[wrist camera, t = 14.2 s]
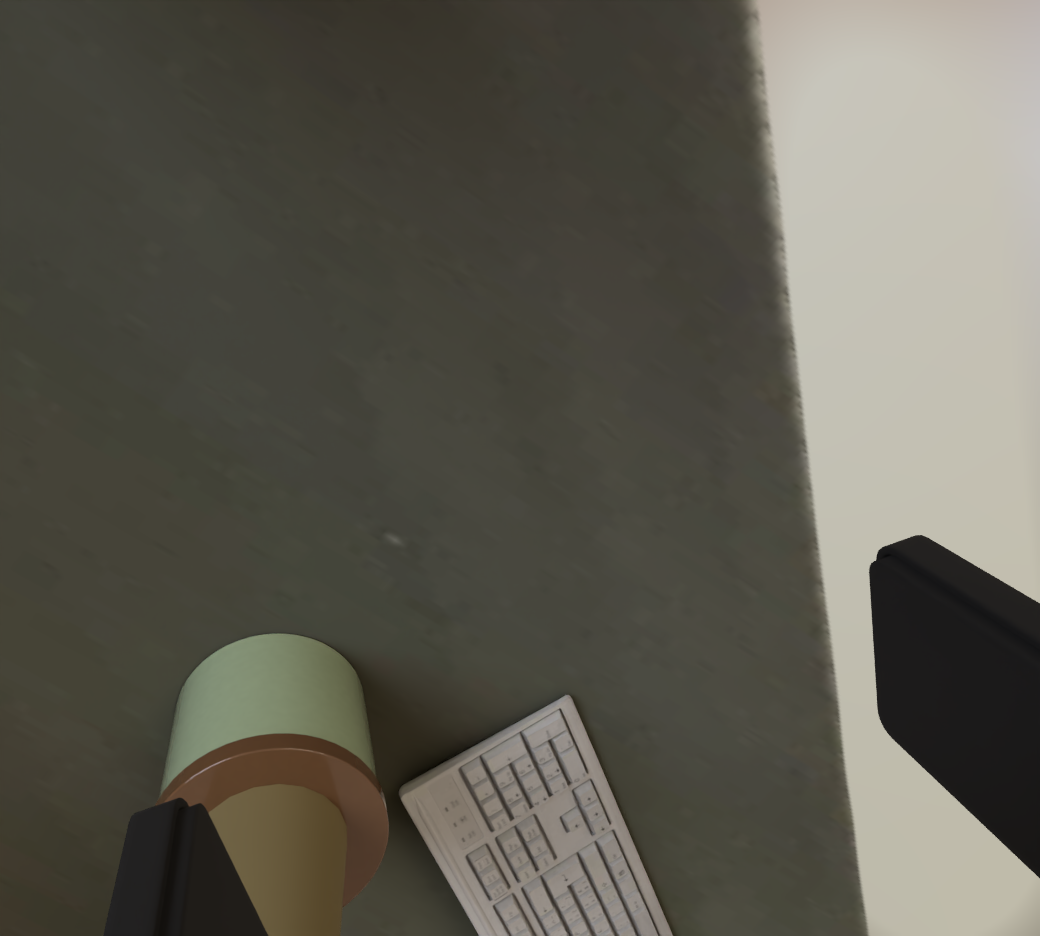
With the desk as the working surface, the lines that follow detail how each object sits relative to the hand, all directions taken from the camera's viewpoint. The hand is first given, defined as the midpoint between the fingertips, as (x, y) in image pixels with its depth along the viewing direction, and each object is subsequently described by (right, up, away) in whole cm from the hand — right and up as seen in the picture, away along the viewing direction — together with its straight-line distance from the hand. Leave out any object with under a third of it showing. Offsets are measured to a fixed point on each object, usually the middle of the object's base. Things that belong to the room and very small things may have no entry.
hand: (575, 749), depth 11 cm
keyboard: (+2, -23, +40) cm, 46 cm away
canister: (-13, -8, +31) cm, 34 cm away
